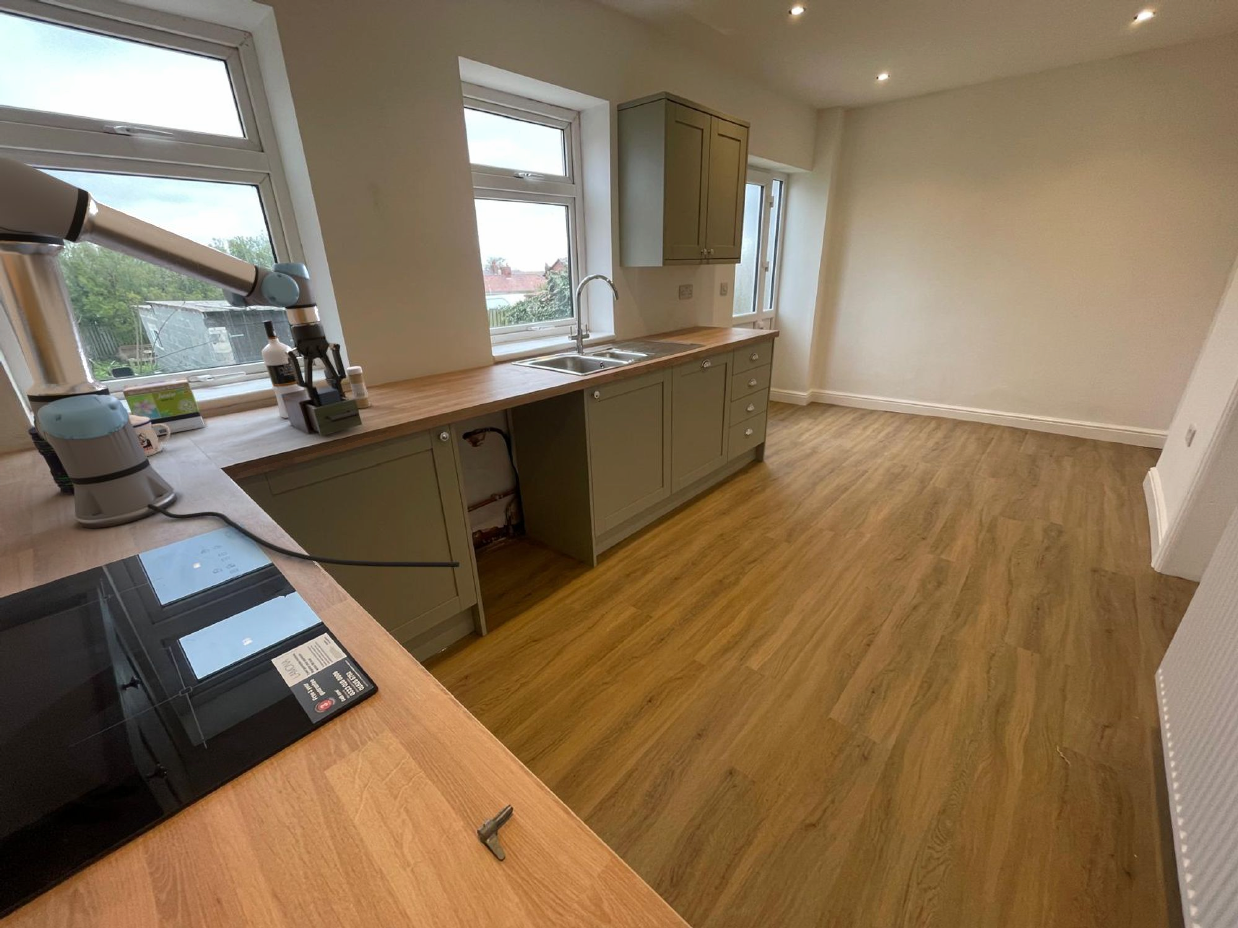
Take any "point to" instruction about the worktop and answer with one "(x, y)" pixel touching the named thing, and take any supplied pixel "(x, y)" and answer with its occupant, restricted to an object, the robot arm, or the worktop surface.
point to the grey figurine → (328, 378)
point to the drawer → (333, 416)
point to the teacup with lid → (148, 434)
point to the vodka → (279, 367)
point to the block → (328, 396)
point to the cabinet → (300, 408)
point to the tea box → (165, 404)
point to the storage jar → (53, 463)
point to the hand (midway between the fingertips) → (329, 406)
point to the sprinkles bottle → (358, 386)
